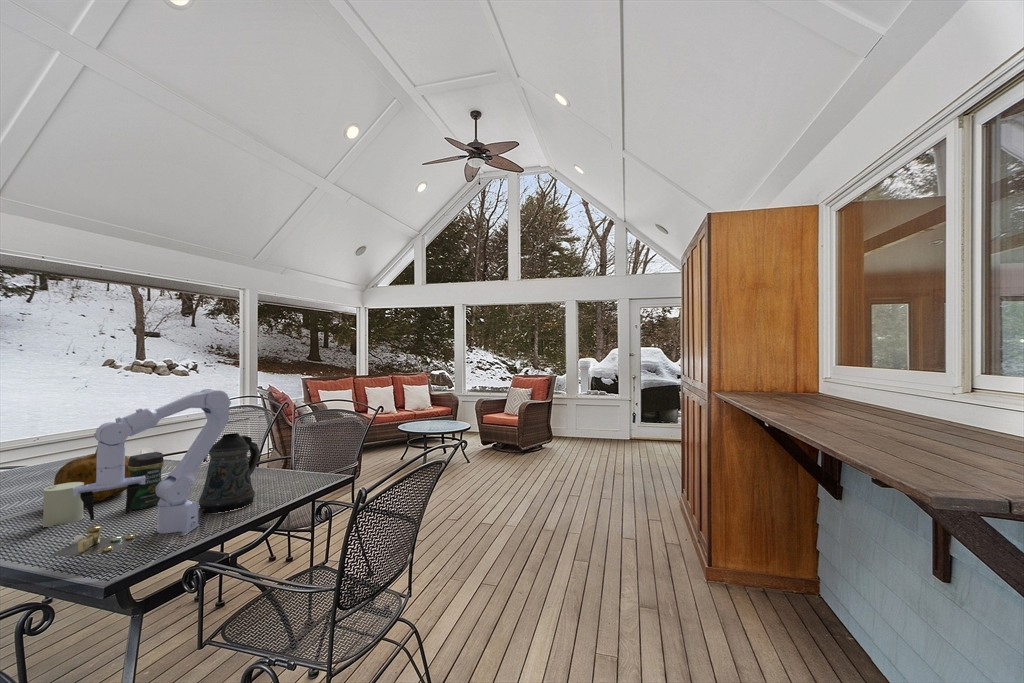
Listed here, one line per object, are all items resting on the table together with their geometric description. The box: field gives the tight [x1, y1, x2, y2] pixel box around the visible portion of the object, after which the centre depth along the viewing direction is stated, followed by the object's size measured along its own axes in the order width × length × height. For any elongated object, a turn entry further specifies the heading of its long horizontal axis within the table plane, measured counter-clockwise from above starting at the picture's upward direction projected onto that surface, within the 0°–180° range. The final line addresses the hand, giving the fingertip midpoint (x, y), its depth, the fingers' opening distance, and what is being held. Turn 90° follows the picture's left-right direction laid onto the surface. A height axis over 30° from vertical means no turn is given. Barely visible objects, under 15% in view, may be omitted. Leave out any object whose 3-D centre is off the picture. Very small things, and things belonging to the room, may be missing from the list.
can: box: [41, 482, 85, 528], centre depth 137 cm, size 9×9×12 cm
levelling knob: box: [78, 525, 103, 553], centre depth 116 cm, size 7×3×4 cm, turn 18°
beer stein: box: [198, 432, 260, 514], centre depth 152 cm, size 16×19×25 cm
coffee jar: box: [128, 451, 165, 511], centre depth 151 cm, size 10×8×19 cm
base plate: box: [47, 533, 145, 558], centre depth 117 cm, size 16×10×3 cm, turn 98°
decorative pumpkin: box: [53, 448, 130, 503], centre depth 158 cm, size 20×21×20 cm
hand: (110, 515), depth 117 cm, fingers open, 6 cm apart
